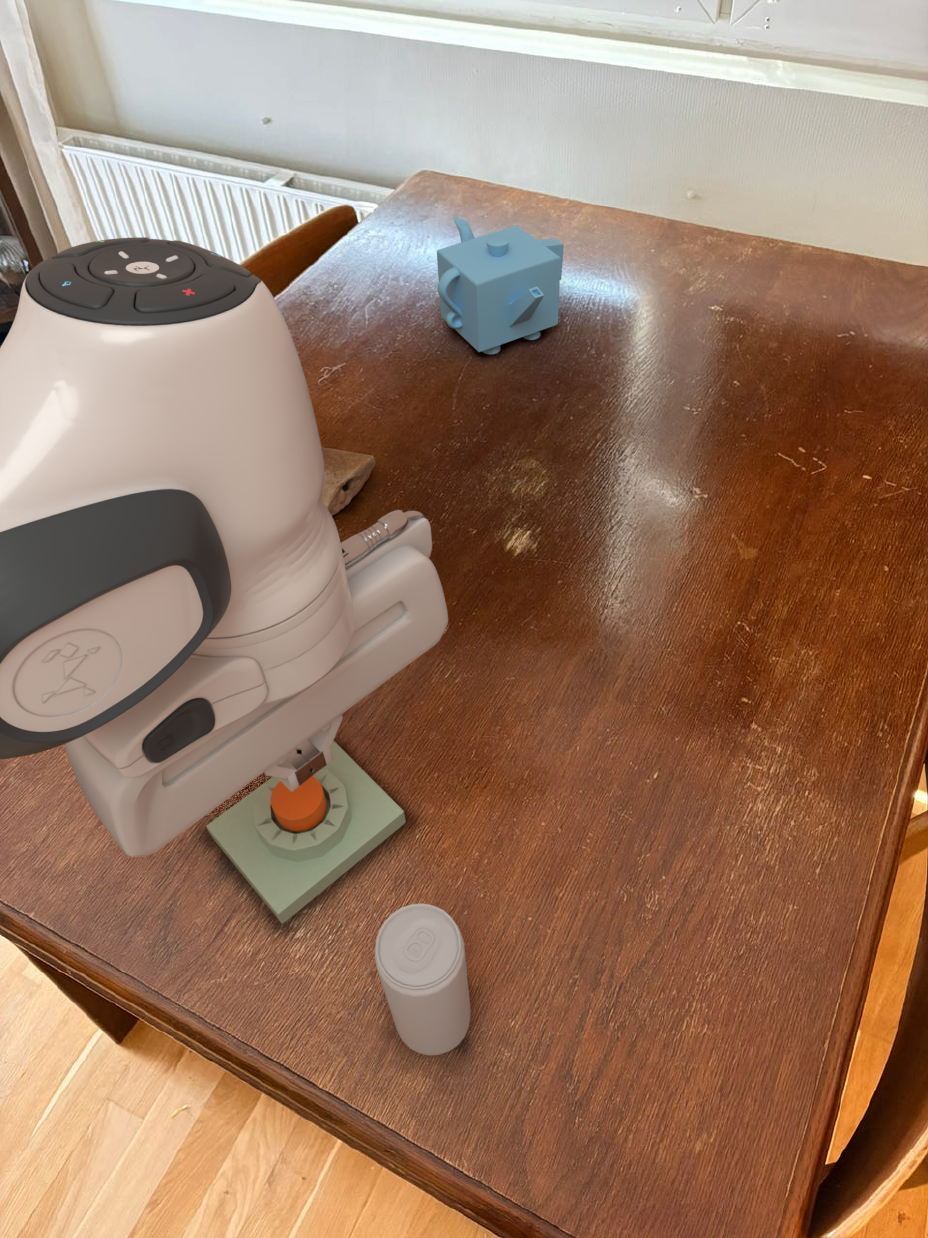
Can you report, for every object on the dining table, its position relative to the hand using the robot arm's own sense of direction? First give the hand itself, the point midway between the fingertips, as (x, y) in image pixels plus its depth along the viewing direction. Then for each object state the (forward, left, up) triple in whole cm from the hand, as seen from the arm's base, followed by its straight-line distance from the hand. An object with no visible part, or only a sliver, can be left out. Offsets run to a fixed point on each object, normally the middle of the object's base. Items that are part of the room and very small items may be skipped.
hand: (304, 769), depth 50 cm
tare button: (+1, +5, -12) cm, 13 cm away
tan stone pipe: (+21, +36, -16) cm, 45 cm away
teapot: (+57, +43, -16) cm, 73 cm away
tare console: (+1, +5, -16) cm, 16 cm away
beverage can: (-1, -11, -16) cm, 19 cm away
